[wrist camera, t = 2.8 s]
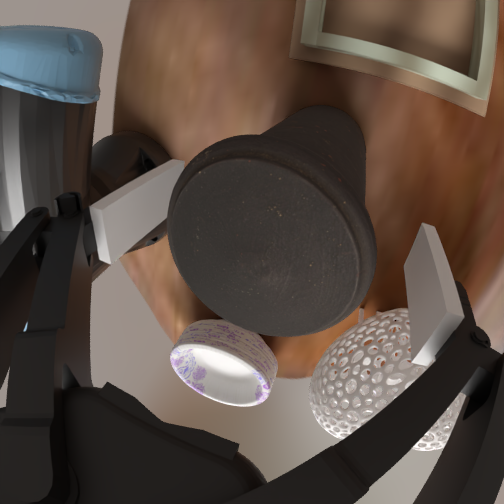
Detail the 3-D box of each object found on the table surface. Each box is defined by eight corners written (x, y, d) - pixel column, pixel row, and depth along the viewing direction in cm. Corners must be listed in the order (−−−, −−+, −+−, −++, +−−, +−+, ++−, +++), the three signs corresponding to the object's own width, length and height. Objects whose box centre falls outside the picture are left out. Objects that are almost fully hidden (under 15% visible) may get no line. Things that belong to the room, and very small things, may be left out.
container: (275, 184, 30) (169, 324, 14) (279, 97, 25) (137, 140, 9) (360, 199, 28) (345, 371, 12) (372, 108, 23) (408, 169, 7)
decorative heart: (475, 298, 28) (503, 424, 15) (437, 354, 34) (441, 467, 21) (340, 264, 33) (312, 399, 19) (320, 328, 39) (287, 445, 25)
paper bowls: (298, 368, 45) (285, 410, 38) (222, 371, 52) (204, 405, 46) (256, 296, 39) (234, 340, 33) (175, 310, 47) (149, 345, 41)
